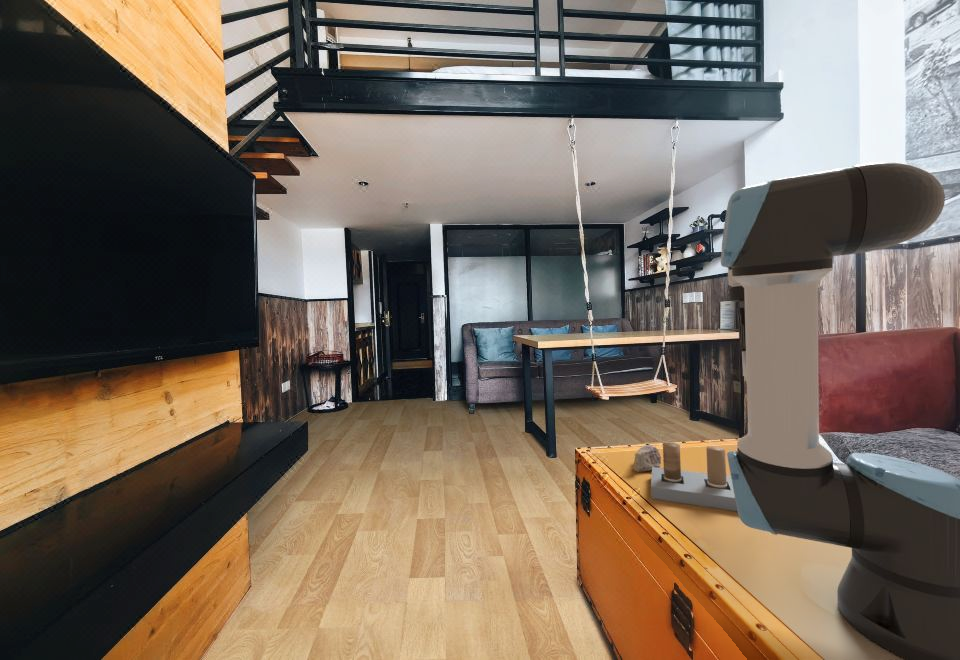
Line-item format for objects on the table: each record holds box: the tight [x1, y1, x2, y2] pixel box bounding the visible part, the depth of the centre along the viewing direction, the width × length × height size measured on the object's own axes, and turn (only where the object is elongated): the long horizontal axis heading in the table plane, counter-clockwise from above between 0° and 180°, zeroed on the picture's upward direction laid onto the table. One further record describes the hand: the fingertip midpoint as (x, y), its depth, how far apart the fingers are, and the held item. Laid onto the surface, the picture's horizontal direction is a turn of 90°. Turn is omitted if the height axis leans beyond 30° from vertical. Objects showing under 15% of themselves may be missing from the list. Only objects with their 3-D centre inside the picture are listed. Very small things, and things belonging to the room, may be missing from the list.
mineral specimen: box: [632, 444, 662, 473], centre depth 114 cm, size 13×7×6 cm, turn 148°
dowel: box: [662, 442, 682, 484], centre depth 98 cm, size 4×4×12 cm
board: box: [650, 445, 738, 512], centre depth 96 cm, size 14×20×12 cm
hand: (749, 376), depth 97 cm, fingers closed
